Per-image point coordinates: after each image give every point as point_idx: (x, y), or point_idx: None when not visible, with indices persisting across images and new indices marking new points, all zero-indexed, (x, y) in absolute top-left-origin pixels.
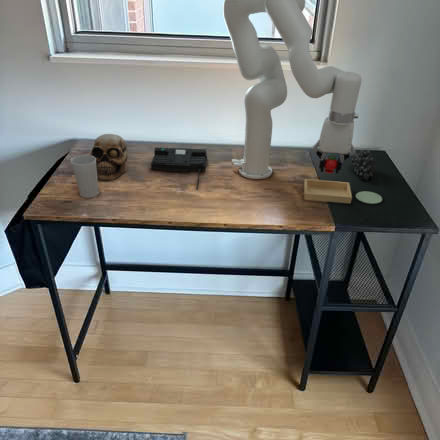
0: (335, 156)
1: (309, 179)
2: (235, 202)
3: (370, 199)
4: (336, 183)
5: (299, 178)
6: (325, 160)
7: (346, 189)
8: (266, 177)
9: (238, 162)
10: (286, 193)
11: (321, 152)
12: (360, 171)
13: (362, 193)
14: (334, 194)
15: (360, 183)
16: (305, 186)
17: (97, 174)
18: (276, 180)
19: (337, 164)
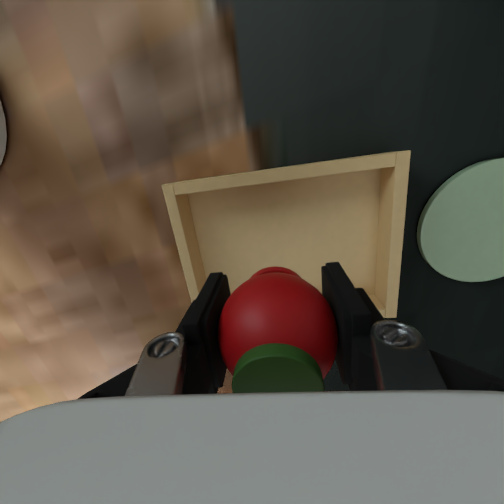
0: (317, 377)
1: (184, 185)
2: (27, 356)
3: (491, 246)
4: (331, 173)
5: (135, 93)
6: (221, 354)
7: (383, 191)
8: (2, 155)
9: None
10: (134, 268)
11: (133, 379)
12: None
13: (465, 192)
14: (319, 242)
15: (494, 21)
16: (184, 267)
17: None
18: (52, 161)
19: (337, 350)
